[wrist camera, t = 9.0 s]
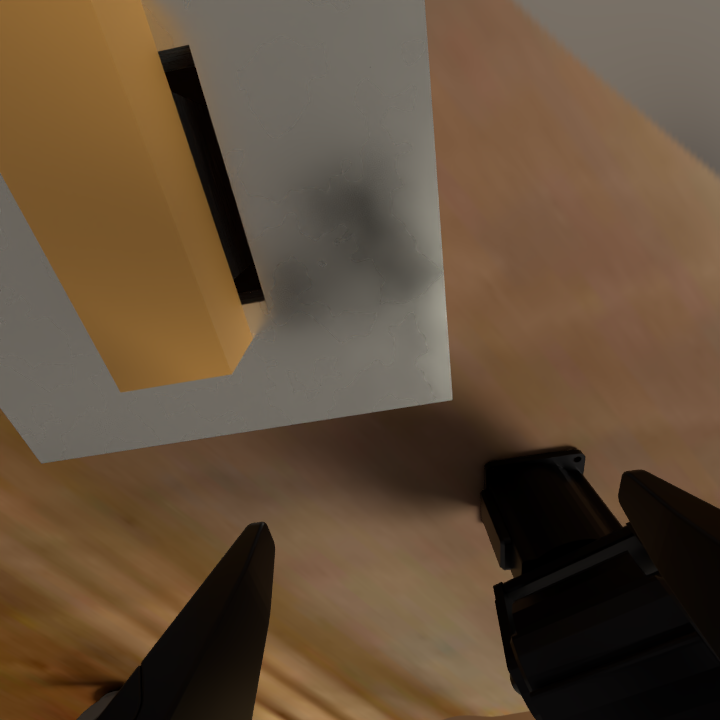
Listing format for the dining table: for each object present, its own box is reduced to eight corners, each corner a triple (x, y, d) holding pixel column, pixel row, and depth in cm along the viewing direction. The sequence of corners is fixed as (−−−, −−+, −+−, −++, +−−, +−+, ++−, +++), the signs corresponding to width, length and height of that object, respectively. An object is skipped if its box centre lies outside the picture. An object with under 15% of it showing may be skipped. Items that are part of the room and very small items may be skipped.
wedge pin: (190, 31, 14) (59, -83, 8) (271, 307, 19) (231, 374, 13) (90, 54, 14) (-117, -39, 8) (196, 320, 19) (120, 392, 13)
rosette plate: (381, -181, 12) (397, -380, 8) (431, 352, 21) (452, 400, 17) (-161, -45, 14) (-412, -152, 9) (102, 405, 22) (41, 463, 18)
